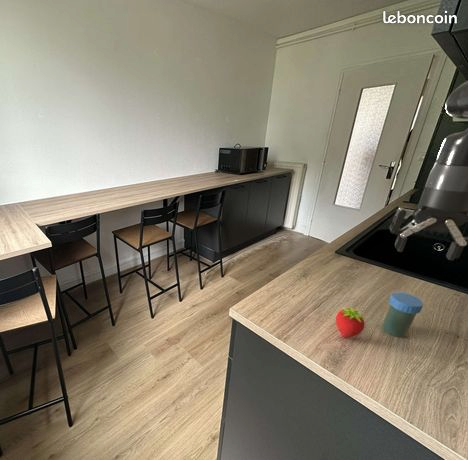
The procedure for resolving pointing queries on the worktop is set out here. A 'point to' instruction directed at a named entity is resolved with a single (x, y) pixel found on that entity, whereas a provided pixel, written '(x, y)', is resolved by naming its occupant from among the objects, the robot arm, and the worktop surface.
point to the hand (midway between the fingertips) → (423, 254)
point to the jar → (397, 322)
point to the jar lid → (406, 302)
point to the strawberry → (349, 322)
